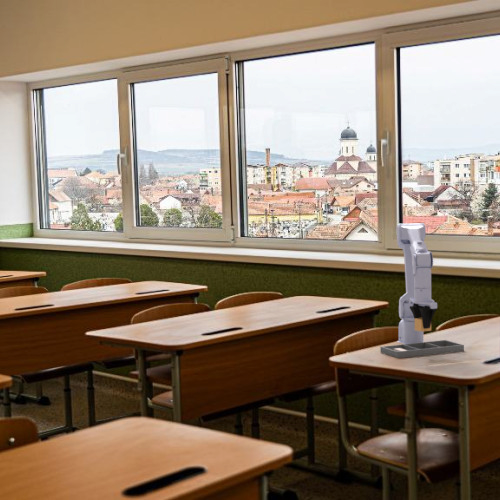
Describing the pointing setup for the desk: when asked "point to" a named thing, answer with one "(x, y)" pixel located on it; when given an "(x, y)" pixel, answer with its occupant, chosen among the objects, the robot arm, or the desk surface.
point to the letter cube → (420, 325)
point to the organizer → (422, 348)
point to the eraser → (400, 349)
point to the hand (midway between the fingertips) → (423, 327)
